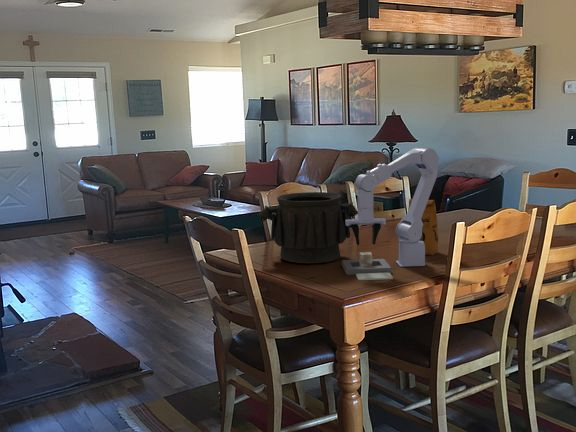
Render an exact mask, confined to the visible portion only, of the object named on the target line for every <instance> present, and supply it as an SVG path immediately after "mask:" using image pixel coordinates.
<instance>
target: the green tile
mask: <svg viewBox="0 0 576 432" xmlns="http://www.w3.org/2000/svg"><path fill="white" fill-rule="evenodd" d="M355 277H356V278H357V280H358V281H379V280H381V281H382V280H394V277H393V275H392V273H389V272H386V273H359V274H356V275H355Z"/></svg>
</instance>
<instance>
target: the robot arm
mask: <svg viewBox="0 0 576 432" xmlns="http://www.w3.org/2000/svg"><path fill="white" fill-rule="evenodd" d="M439 160H440V157H439V155H438V153H437V151H436V150H435V149H433V148H425V147H419V146H418V147H414V148H413V149H410V150H408V151H407V152H406V153H404V154H403V155H401V156H400V157H398V158H396V159H395V160H393V161H391V162H390V163H388V164H386V163H379V164H377V165H376V167H375V168H373V169H370V170H366V173H364V174H363V173H361V174H359V175H358V176H356V178H355V181H354V186H355V188H356V189H357V190H356V191H357V211H358V214H357V218H354V219H353V218H352V219H350V218H348V220H345V222H346V226H349V227H351V230H352V232H353V235H354V238H355V242H356V243H355V244H356V246H359V245H360V227H359V226H364V225H367V226H369V225H370V226H372V227H371V229H372V231H371V232H372V237H371V238H372V239H371V243H372V245H376V241H377V238H378V236H379V232H380V230H381V228H382V226H381V225H386V224H387V219H386V218H382V217H381V218H379V217H378V218H377V217H376V218H375V216H374V190H375V189H376V187H377V186H379V184H381V183H383V182H386V181H387V180H388V179H390V178H391V177H392V175H393V173H395V172H397V171H399V170H401V169H403V168H404V167H407V166H409V165H412V164H413V165H415V166H416V167H417V168H418V170H419V173H420V174H421V176H420V179H419V181H418V184H417V186H416V188H415V191H414V195H413V197H412V199H413V200H412V202H411V205H410V208H409V207H408V208H409V210H408V209H407V213H406V214H405V215H404V216H403V217H401V220H400V222H398V224H397V225H396V227H395V234H396V236H397V237H398V260H396V261H395V263H396V264H397V265H399V267H401V268H404V267H425V266H426V254H425V244H424V242H423V241H419V239H420V238H421V236H422V227H423V223H422V220H421V218H422V215H423V212H424V210H425V207H426V204H427V202H428V200H430V199H429V198H430V196H431V193H432V191H433V187H434V185H435V183H436V180H437V178H438V173H439V169H438V163H439Z"/></svg>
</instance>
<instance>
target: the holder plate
mask: <svg viewBox="0 0 576 432" xmlns="http://www.w3.org/2000/svg"><path fill="white" fill-rule="evenodd" d="M341 267H342V268H343V270H344V272H345V274H346V275H348V276H349V275H350V276H353V275H355V276H356V274H359V273H386V272H389V273H390V274H392V267H391V265H390V264H389V263H388V262H387V261H386V260H385V258H372V266H360V259H343V260H341Z"/></svg>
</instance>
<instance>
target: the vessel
mask: <svg viewBox="0 0 576 432" xmlns="http://www.w3.org/2000/svg"><path fill="white" fill-rule="evenodd" d="M340 199H341V194H339V193H334V192H326V191H325V192H322V191H309V192H294V193H293V192H291V193H286V194H282V195H279V196H277V197H276V201H277V202H278V205H277V206H272V207H271V206H267V205H264V208H263V209H262V210H261V211H260V212H259V213H258V214H257V216H258V218H260V219H261V221H262V222H265V221H267V220H269V221H271V231H270V240H271V241H274V242H275V245H277V246H278V247H280V253H279V257H280V258H281V260H284V261H287V262H291V263H300V264H323V263H324V264H325V263H330V262H334V261H337V260H338V259H340V257H341V251H340V244H342V243H344V242H345V241H346V240H347V239H350V237H351V229H350V225H349V226H346V222H345V220H349V218H348V217H351V218H352V219H355V218H354V217H355V216H358V209H356V208H355V205H354V202H350V203H340ZM342 210H345V211H346V212H345V211H343V212H342Z"/></svg>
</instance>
